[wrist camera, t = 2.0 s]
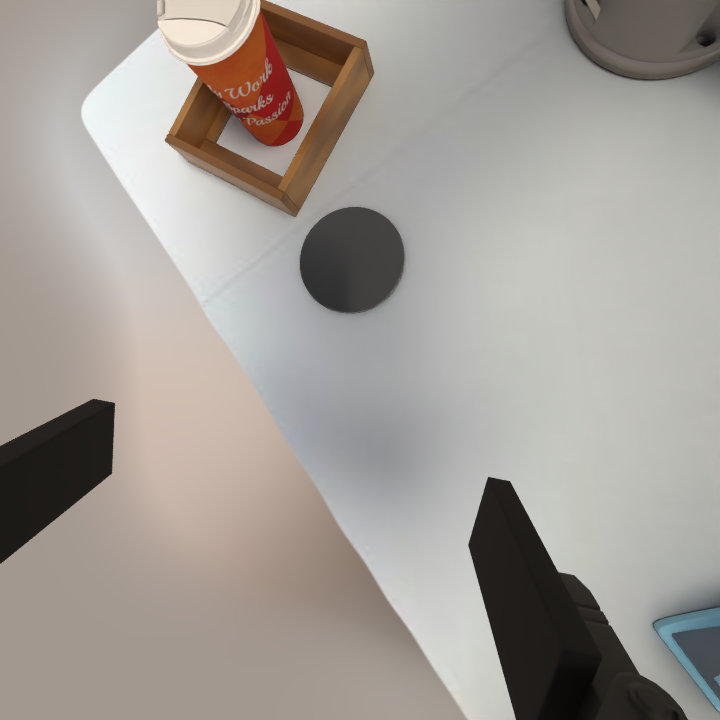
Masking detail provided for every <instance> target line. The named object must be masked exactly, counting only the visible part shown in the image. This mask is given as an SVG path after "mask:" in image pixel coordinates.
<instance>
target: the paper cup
mask: <svg viewBox="0 0 720 720" xmlns="http://www.w3.org/2000/svg"><path fill="white" fill-rule="evenodd" d="M157 16H158V18H159V21H158V26H159V28H160V30H161V35H162V39H163V41H164V43H165V45H166V47H167V49H168V50H169V51H170V53H171V54H172V55H173V56H174V57H176V58H177V59H178V60H180V61H182V62H184V63H186V64H187V65H188V66H189V67H190V68H191V69H192V70H193V71H194V72H195V73H196V74H197V76H198V77H199V78H200V79H201V80H202V81H203V82H204V83H205V84H206V85H207V86H208V87H209V89H210V90H211V91H212V92H213V93H214V94H215V95H216V96H217V97H218V98H219V99H220V100H221V102H222V103H223V104H224V105H225V106H226V107H227V108H228V109H229V110H230V111H231V112H232V113H233V114H234V115H235V117H236V118H237V119H238V120H239V121H240V122H241V123H242V124H243V125H244V126H245V127H246V128H247V129H248V130H249V131H250V132H251V133H252V134H253V135H254V136H255V137H256V138H257V139H258V140H259V141H260V142H262V143H264V144H266V145H269V146H279V145H282V144H285V143H287V142H289V141H290V140H291V139H293V138H294V137H295V136H296V134H297V133H298V132H299V130H300V128H301V125H302V122H303V110H302V106H301V103H300V100H299V98H298V95H297V93H296V90H295V88H294V86H293V83H292V81H291V78H290V76H289V74H288V71H287V69H286V67H285V64H284V62H283V60H282V57H281V55H280V53H279V50H278V48H277V46H276V44H275V41H274V39H273V37H272V34H271V32H270V30H269V27H268V25H267V23H266V20H265V18H264V16H263V13H262V11H261V9H260V0H157Z"/></svg>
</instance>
